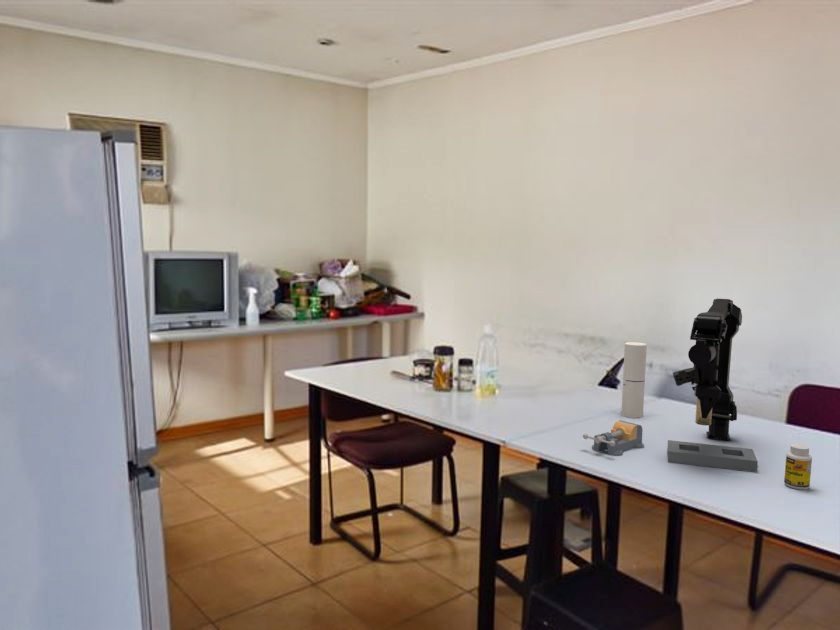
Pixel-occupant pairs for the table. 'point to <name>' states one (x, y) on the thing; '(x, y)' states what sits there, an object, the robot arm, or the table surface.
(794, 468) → the supplement bottle
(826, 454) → the table surface
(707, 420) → the cylinder
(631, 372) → the cylindrical container
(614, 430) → the vise
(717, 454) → the jig
